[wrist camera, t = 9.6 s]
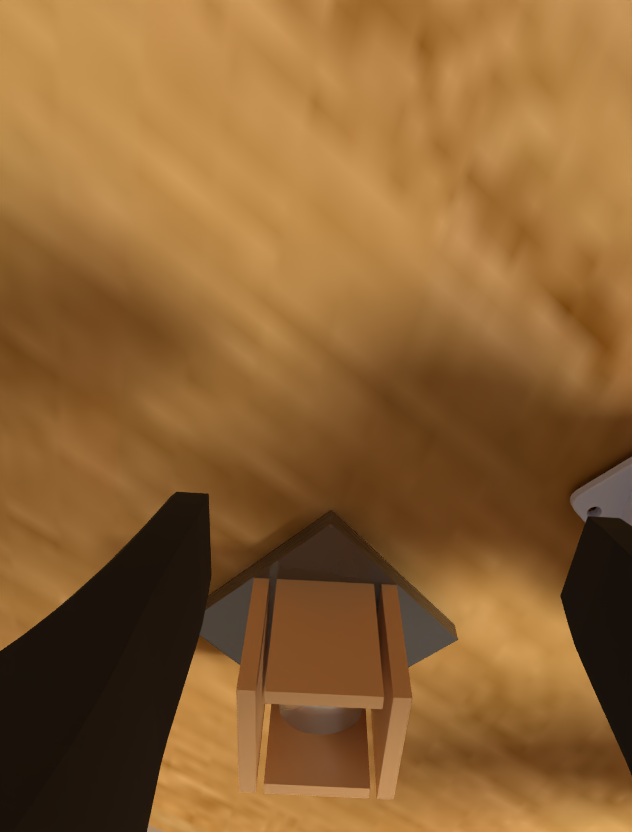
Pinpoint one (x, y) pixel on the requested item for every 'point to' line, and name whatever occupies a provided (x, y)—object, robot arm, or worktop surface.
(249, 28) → the worktop surface
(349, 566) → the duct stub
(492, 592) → the worktop surface
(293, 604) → the brown hollow box
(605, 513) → the robot arm
